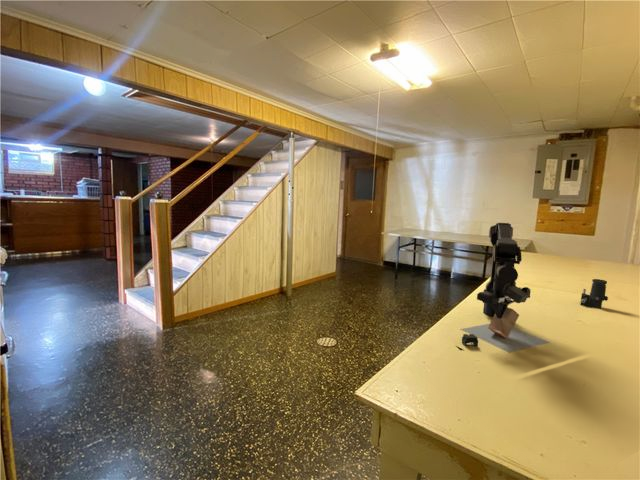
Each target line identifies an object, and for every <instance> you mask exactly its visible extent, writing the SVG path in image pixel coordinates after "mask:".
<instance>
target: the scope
mask: <svg viewBox="0 0 640 480" xmlns="http://www.w3.org/2000/svg"><path fill="white" fill-rule="evenodd" d="M591 283H592V284H591V289H590V292H589V294H586V292H587V291H586V290H587V289H586V288H583V289H582V293H581V297H580V306H582V307H590V308H593V309H599V310H601V309H602V307H603V306H602V305H603V302H604V301H605V302H607V301H608V300H609V297H608V296H607V295H606V292H607V290H606V289H607V284H608V281H607V280H605V279H601V278H600V279H597V278H594V279H593V278H592V281H591Z"/></svg>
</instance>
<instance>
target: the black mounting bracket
mask: <svg viewBox="0 0 640 480" xmlns="http://www.w3.org/2000/svg"><path fill="white" fill-rule="evenodd" d="M478 339H479V338H478V337H476V336H475V335H474V334H469V333H463V336H462V337H461V343H462V345H464V346H465V348H466V347H469V345H467V344H471V345H472V344H473V346H475V347H479V346H478V345H479V340H478ZM455 347H456V348H457V349H458V350H459V351H464V349H463V348H461V347H459V346H457V345H455Z"/></svg>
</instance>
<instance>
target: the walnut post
mask: <svg viewBox="0 0 640 480" xmlns="http://www.w3.org/2000/svg"><path fill="white" fill-rule="evenodd" d="M519 316H520V314H519V313H518V312H517V311H516V310H515V309H513V308H511V307H508V306H507V308H506V310H505V312H504V314H503V316H502V318H501V319H499V318H497V316H496V314H495V315H494V317H492V318H491V320H490V322H489V323H488V324H489V326H488V329H490V330H491V331H492V332H493V333H495V334H497V335H500V336H502V337H504V338H506V339H507V338H508V336H509V334H510V332H511V330H512V328H514V326H515V325H516V323H517V320H518V318H519Z"/></svg>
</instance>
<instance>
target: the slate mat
mask: <svg viewBox="0 0 640 480" xmlns="http://www.w3.org/2000/svg"><path fill="white" fill-rule="evenodd" d="M489 324H490V323H485V324H480V325H475V326H470V327H464V328H460V330H461V331H462V332H465V333H466V334H468V335H469V334H474V335H475V336H476V337H477V338H478V339H479V340H482V341H484V342H486V343H488V344H491V345H493V346H494V347H496V348H498V349H501V350H503V351H506V352H507V353H514V352H518V351H521V350H525V349H529V348H532V347H537V346H540V345H544V344H545V345H546V344H549V343H550V341H548V340H546V339H543V338H541V337H538V336H535V335H533V334H530V333H528V332H525V331H523V330H520V329H519V328H515V327H513V328H512V330H511V332H510V334H509V336H508V338H507V339H506V338H504V337H502V336H500V335H497V334H495V333H493V332H492V331H491V330H490V329H488V326H489Z"/></svg>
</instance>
